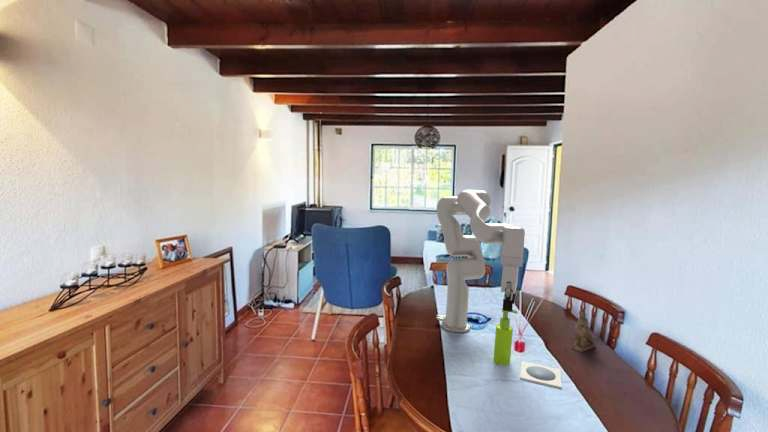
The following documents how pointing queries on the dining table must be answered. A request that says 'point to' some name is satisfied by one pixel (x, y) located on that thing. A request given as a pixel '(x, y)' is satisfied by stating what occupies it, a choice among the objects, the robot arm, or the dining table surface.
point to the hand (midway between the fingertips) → (508, 306)
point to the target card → (541, 374)
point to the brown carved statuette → (582, 334)
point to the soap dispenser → (503, 340)
